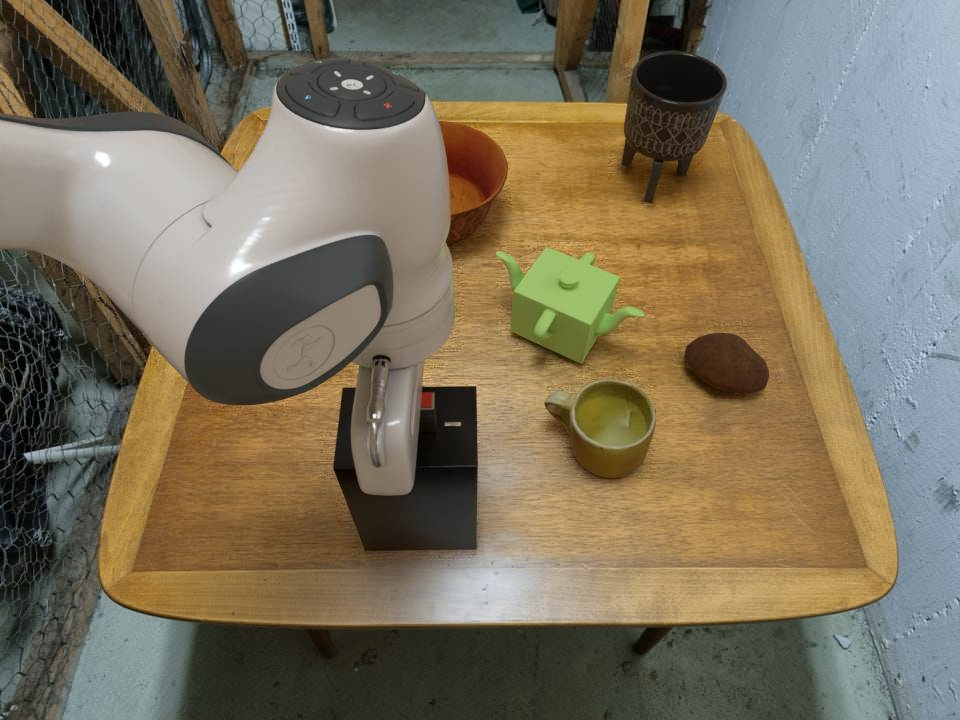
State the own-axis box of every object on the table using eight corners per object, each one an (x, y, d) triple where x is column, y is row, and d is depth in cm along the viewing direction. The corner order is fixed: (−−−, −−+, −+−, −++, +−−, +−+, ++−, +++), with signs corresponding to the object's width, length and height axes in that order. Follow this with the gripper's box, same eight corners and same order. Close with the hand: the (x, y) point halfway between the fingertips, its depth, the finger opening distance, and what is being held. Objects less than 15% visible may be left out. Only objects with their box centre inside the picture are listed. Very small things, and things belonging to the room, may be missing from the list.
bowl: (422, 154, 110) (418, 100, 102) (532, 206, 103) (537, 152, 95) (336, 227, 100) (324, 173, 92) (450, 290, 93) (448, 238, 85)
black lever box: (364, 557, 72) (331, 474, 55) (370, 477, 77) (342, 380, 60) (476, 555, 72) (478, 472, 55) (475, 476, 77) (476, 379, 61)
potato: (755, 415, 82) (776, 383, 76) (671, 384, 85) (686, 352, 79) (766, 371, 86) (787, 338, 80) (686, 344, 88) (700, 310, 83)
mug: (677, 425, 79) (668, 392, 71) (634, 500, 77) (620, 476, 68) (587, 383, 85) (570, 348, 77) (545, 452, 83) (523, 424, 75)
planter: (671, 147, 112) (701, 44, 97) (707, 198, 105) (744, 96, 90) (599, 160, 110) (618, 57, 95) (630, 213, 102) (655, 111, 88)
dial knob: (377, 433, 57) (371, 407, 54) (379, 417, 58) (373, 390, 55) (436, 432, 58) (434, 407, 54) (436, 416, 58) (434, 390, 55)
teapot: (492, 300, 92) (495, 244, 84) (582, 277, 95) (593, 220, 86) (533, 388, 84) (540, 337, 75) (630, 361, 87) (648, 308, 78)
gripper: (424, 442, 38) (436, 530, 50) (443, 199, 50) (449, 315, 62) (314, 440, 39) (351, 529, 50) (359, 197, 50) (380, 314, 62)
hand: (405, 409), depth 56 cm, fingers open, 8 cm apart
